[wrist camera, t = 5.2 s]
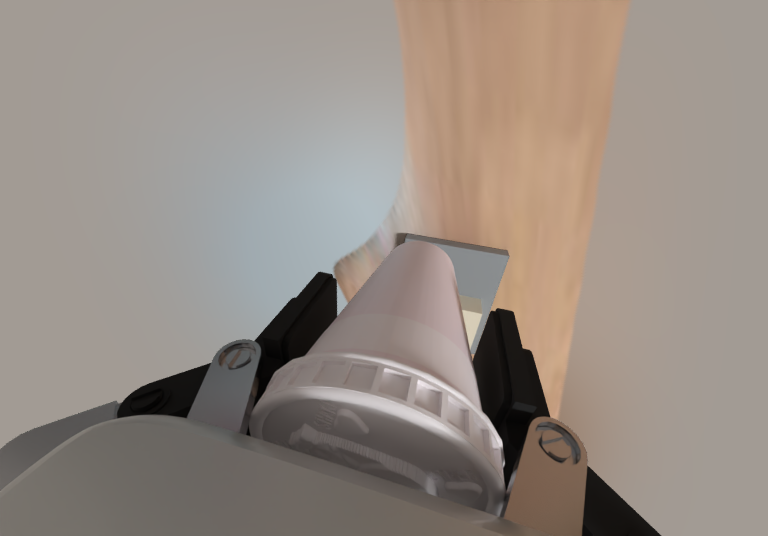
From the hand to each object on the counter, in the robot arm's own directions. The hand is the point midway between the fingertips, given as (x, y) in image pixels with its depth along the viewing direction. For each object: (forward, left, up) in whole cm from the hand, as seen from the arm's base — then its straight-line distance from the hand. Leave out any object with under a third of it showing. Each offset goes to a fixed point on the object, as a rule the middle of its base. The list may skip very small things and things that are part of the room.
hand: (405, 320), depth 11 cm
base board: (+14, +3, -23) cm, 27 cm away
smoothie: (0, 0, -4) cm, 4 cm away
